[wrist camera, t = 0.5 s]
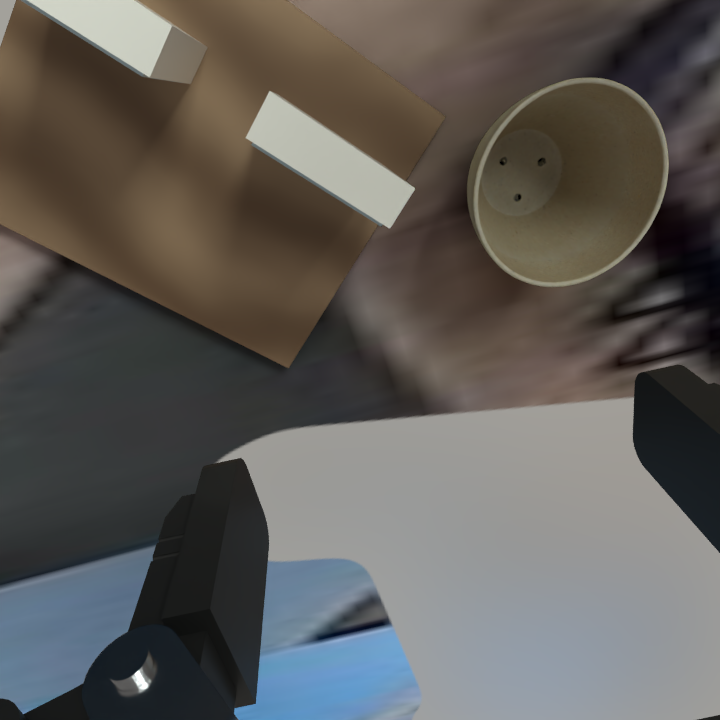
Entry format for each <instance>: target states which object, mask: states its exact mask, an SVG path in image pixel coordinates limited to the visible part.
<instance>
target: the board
mask: <svg viewBox="0 0 720 720" xmlns="http://www.w3.org/2000/svg"><path fill="white" fill-rule="evenodd" d="M138 1H139V2H141V3H142V4H144V5H145V6H147V7H148V8H150V9H151V10H153V11H154V12H156V13H157V14H159V15H160V16H162V17H163V18H165V19H166V20H168V21H169V22H171V23H172V24H174V25H175V26H177V27H178V28H180V29H181V30H183V31H184V32H186V33H187V34H189V35H190V36H192V37H193V38H195V39H196V40H197V41H199V42H200V43H202V44H203V45H205V46H206V47H208V48H207V50H206V52H205V54H204V57H203V59H202V61H201V63H200V65H199V67H198V70H197V72H196V74H195V76H194V78H193V80H192V83H191V84H187V83H178V82H172V81H166V80H159V79H153V78H147V77H142V76H140V75H139V74H137V73H135V72H134V71H132V70H131V69H129V68H128V67H126V66H124V65H123V64H121V63H120V62H118V61H116V60H115V59H113V58H112V57H110V56H108V55H107V54H105V53H104V52H102V51H100V50H99V49H97V48H96V47H94V46H92V45H91V44H89V43H88V42H86V41H84V40H83V39H81V38H80V37H78V36H77V35H75V34H73V33H72V32H70V31H69V30H67V29H65V28H64V27H62V26H61V25H59V24H57V23H56V22H54V21H53V20H51V19H49V18H48V17H46V16H45V15H43V14H41V13H40V12H38V11H37V10H35V9H34V8H32V7H30V6H29V5H27V4H26V3H24V2H22V1H21V0H16V3H15V6H14V8H13V11H12V14H11V17H10V20H9V23H8V26H7V29H6V32H5V35H4V38H3V41H2V44H1V46H0V224H1V225H3V226H5V227H7V228H9V229H11V230H13V231H15V232H17V233H19V234H21V235H23V236H25V237H27V238H29V239H31V240H33V241H35V242H37V243H39V244H41V245H43V246H45V247H47V248H49V249H51V250H53V251H55V252H57V253H59V254H61V255H63V256H65V257H67V258H69V259H71V260H73V261H75V262H77V263H79V264H81V265H83V266H85V267H87V268H89V269H91V270H93V271H95V272H97V273H99V274H101V275H103V276H105V277H107V278H109V279H111V280H113V281H115V282H117V283H119V284H121V285H123V286H125V287H127V288H129V289H131V290H133V291H135V292H137V293H139V294H141V295H143V296H145V297H147V298H149V299H151V300H153V301H155V302H157V303H159V304H161V305H163V306H165V307H167V308H169V309H171V310H173V311H175V312H177V313H179V314H181V315H183V316H185V317H187V318H189V319H191V320H193V321H195V322H197V323H199V324H201V325H203V326H205V327H207V328H209V329H211V330H213V331H215V332H217V333H219V334H221V335H223V336H225V337H227V338H229V339H231V340H233V341H235V342H237V343H239V344H241V345H243V346H245V347H247V348H249V349H251V350H253V351H255V352H257V353H259V354H261V355H263V356H265V357H267V358H269V359H271V360H273V361H275V362H277V363H279V364H281V365H283V366H285V367H287V368H289V367H290V365H291V363H292V362H293V360H294V359H295V357H296V355H297V354H298V352H299V351H300V349H301V347H302V346H303V344H304V343H305V341H306V339H307V338H308V336H309V335H310V333H311V331H312V330H313V328H314V327H315V325H316V323H317V322H318V320H319V319H320V317H321V315H322V314H323V312H324V311H325V309H326V307H327V306H328V304H329V303H330V301H331V299H332V298H333V296H334V295H335V293H336V291H337V290H338V288H339V287H340V285H341V283H342V282H343V280H344V279H345V277H346V276H347V274H348V272H349V271H350V269H351V268H352V266H353V264H354V263H355V261H356V260H357V258H358V256H359V255H360V253H361V252H362V250H363V248H364V247H365V245H366V244H367V242H368V240H369V239H370V237H371V236H372V234H373V232H374V231H375V229H376V228H377V226H378V224H376V223H374V222H373V221H371V220H370V219H368V218H367V217H365V216H363V215H362V214H360V213H359V212H357V211H355V210H354V209H352V208H351V207H349V206H347V205H346V204H344V203H343V202H341V201H339V200H338V199H336V198H335V197H333V196H331V195H330V194H328V193H327V192H325V191H324V190H322V189H320V188H319V187H317V186H316V185H314V184H312V183H311V182H309V181H308V180H306V179H304V178H303V177H301V176H300V175H298V174H296V173H295V172H293V171H292V170H290V169H288V168H287V167H285V166H284V165H282V164H280V163H279V162H277V161H276V160H274V159H273V158H271V157H269V156H268V155H266V154H265V153H263V152H261V151H260V150H258V149H257V148H255V147H253V146H252V145H251V144H252V142H251V141H250V140H248V139H246V136H247V134H248V132H249V130H250V128H251V126H252V124H253V122H254V120H255V118H256V117H257V115H258V113H259V111H260V109H261V107H262V105H263V103H264V101H265V99H266V97H267V95H268V93H269V91H271V92H274V93H276V94H278V95H280V96H281V97H283V98H284V99H286V100H287V101H288V102H290V103H291V104H293V105H294V106H296V107H297V108H299V109H300V110H302V111H303V112H305V113H306V114H308V115H309V116H311V117H312V118H314V119H315V120H317V121H318V122H320V123H321V124H323V125H324V126H326V127H327V128H329V129H330V130H332V131H333V132H335V133H336V134H338V135H339V136H341V137H342V138H344V139H345V140H347V141H348V142H350V143H351V144H353V145H354V146H356V147H357V148H359V149H360V150H362V151H363V152H365V153H366V154H368V155H369V156H371V157H372V158H374V159H375V160H377V161H378V162H379V163H381V164H382V165H384V166H385V167H387V168H388V169H390V170H391V171H392V172H394V173H395V174H396V175H398V176H399V177H400V178H402V179H403V180H405V181H406V180H407V178H408V177H409V175H410V173H411V172H412V170H413V169H414V167H415V165H416V164H417V162H418V161H419V159H420V157H421V156H422V154H423V153H424V151H425V149H426V148H427V146H428V145H429V143H430V141H431V140H432V138H433V137H434V135H435V133H436V132H437V130H438V129H439V127H440V125H441V124H442V122H443V121H444V119H445V116H444V115H443V114H441V113H440V112H439V111H437V110H436V109H434V108H433V107H432V106H430V105H429V104H428V103H426V102H425V101H424V100H422V99H421V98H419V97H418V96H417V95H415V94H414V93H413V92H411V91H410V90H409V89H407V88H406V87H404V86H403V85H402V84H400V83H399V82H398V81H396V80H395V79H394V78H392V77H391V76H389V75H388V74H387V73H385V72H384V71H383V70H381V69H380V68H379V67H377V66H376V65H374V64H373V63H372V62H370V61H369V60H368V59H366V58H365V57H364V56H362V55H361V54H359V53H358V52H357V51H355V50H354V49H353V48H351V47H350V46H349V45H347V44H346V43H345V42H343V41H342V40H340V39H339V38H338V37H336V36H335V35H334V34H332V33H331V32H330V31H328V30H327V29H325V28H324V27H323V26H321V25H320V24H319V23H317V22H316V21H315V20H313V19H312V18H310V17H309V16H308V15H306V14H305V13H304V12H302V11H301V10H300V9H298V8H297V7H295V6H294V5H293V4H291V3H290V2H289V1H287V0H138Z"/></svg>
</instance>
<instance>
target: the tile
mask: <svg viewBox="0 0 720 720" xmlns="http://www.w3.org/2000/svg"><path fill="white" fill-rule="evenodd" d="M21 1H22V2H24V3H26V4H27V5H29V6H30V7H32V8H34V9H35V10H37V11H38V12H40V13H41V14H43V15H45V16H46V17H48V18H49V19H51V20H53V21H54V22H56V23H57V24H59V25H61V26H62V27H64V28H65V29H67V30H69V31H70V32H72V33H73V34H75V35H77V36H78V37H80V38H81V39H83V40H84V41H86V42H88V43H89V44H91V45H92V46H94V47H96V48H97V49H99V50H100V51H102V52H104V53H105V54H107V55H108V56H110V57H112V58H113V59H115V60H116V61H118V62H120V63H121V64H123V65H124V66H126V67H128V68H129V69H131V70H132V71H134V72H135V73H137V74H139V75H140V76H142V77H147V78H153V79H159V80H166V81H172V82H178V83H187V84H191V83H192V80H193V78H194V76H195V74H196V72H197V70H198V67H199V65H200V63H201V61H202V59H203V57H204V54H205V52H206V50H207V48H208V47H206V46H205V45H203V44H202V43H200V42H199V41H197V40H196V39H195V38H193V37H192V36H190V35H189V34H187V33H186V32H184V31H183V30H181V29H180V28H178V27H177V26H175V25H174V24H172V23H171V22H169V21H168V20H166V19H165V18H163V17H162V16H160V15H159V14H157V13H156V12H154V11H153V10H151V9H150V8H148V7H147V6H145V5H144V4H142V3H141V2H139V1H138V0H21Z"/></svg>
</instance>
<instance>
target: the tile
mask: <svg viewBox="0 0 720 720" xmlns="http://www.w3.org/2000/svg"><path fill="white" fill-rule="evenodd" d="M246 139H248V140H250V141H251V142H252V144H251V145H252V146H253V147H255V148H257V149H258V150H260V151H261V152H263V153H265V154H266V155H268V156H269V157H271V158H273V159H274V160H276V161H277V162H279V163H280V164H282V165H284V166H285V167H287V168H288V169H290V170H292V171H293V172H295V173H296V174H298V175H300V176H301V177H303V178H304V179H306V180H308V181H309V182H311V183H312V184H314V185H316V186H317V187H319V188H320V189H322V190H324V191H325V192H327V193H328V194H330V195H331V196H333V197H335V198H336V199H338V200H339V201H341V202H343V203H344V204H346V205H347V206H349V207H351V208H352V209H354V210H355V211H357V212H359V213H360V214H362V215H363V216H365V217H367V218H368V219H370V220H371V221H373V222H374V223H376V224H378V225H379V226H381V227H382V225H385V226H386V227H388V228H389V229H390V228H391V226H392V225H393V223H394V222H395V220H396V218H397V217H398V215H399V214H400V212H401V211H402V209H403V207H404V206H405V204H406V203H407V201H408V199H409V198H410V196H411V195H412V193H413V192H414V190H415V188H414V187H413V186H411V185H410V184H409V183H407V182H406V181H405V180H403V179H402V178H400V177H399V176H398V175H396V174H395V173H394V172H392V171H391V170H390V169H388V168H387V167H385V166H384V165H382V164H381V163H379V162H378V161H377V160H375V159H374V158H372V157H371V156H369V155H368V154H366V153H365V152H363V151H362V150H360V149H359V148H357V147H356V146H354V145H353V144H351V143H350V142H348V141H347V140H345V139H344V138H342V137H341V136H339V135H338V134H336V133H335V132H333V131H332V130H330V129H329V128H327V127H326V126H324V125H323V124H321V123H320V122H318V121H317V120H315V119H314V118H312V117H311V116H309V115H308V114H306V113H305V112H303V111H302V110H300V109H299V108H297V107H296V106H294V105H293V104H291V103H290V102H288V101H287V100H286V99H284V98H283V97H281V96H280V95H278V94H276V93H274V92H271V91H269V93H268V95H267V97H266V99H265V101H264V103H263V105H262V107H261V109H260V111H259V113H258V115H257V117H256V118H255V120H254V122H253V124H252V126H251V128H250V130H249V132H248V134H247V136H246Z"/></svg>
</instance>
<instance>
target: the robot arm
mask: <svg viewBox="0 0 720 720" xmlns="http://www.w3.org/2000/svg"><path fill="white" fill-rule="evenodd" d="M633 442H634V447H635V450H636V453H637V455H638V458H639V460H640V461H641V463H642V465H643V466H644V467H645V469H646V470H647V471H648V472H649V473H650V474H651V475H652V477H653V478H654V479H655V480H656V481H657V482H658V483H659V484H660V486H661V487H662V488H663V489H664V490H665V491H666V492H667V494H668V495H669V496H670V497H671V498H672V499H673V500H674V502H675V503H676V504H677V505H678V506H679V507H680V508H681V509H682V511H683V512H684V513H685V514H686V515H687V516H688V517H689V518H690V520H691V521H692V522H693V523H694V524H695V525H696V526H697V528H698V529H699V530H700V531H701V532H702V533H703V534H704V535H705V537H706V538H707V539H708V540H709V541H710V542H711V543H712V545H713V546H714V547H715V548H716V549H717V550H718V551H719V553H720V385H718V384H716V383H712V384H707V383H706V382H705V381H703V380H702V379H701V378H699V377H698V376H697V375H695V374H694V373H693V372H691V371H690V370H689V369H687V368H686V367H684V366H682V365H674V366H669V367H665V368H660V369H656V370H651V371H646V372H642V373H639V374H638V375H637V377H636V380H635V392H634V419H633ZM268 550H269V535H268V527H267V522H266V518H265V515H264V512H263V509H262V506H261V504H260V501H259V498H258V496H257V493H256V490H255V487H254V485H253V483H252V480H251V477H250V474H249V471H248V469H247V466H246V464H245V462H244V460H243V459H241V458H239V459H234V460H229V461H225V462H220V463H216V464H211V465H206V466H204V467H203V469H202V472H201V475H200V479H199V483H198V486H197V490H196V494H191V495H187V496H182V497H181V498H180V500H179V501H178V502H177V503H176V505H175V506H174V507H173V508H172V510H171V511H170V512H169V513H168V515H167V516H166V517H165V520H164V523H163V527H162V530H161V533H160V536H159V543H157V545H156V548H155V551H154V554H153V561H151V563H150V566H149V569H148V572H147V575H146V578H145V581H144V584H143V587H142V591H141V594H140V597H139V600H138V603H137V606H136V609H135V612H134V615H133V618H132V621H131V624H130V627H129V630H128V632H127V633H125V634H123V635H121V636H120V637H118V638H117V639H115V640H114V641H113V642H112V643H110V644H109V645H108V646H107V647H106V648H105V649H104V650H103V651H102V652H101V653H100V654H99V656H98V657H97V658H96V659H95V661H94V662H93V664H92V665H91V667H90V668H89V670H88V672H87V674H86V677H85V680H84V683H83V684H81V685H80V686H78V687H76V688H74V689H73V690H71V691H69V692H67V693H65V694H63V695H61V696H59V697H57V698H55V699H53V700H51V701H49V702H47V703H45V704H43V705H41V706H39V707H37V708H35V709H33V710H31V711H29V712H27V713H25V714H22V712H21V711H20V710H19V709H18V707H17V706H16V705H15V704H14V703H13V702H11V701H10V700H6V699H0V720H238V719H237V717H236V716H235V715H234V708H237V707H242V706H247V705H252V704H256V694H257V682H258V670H259V658H260V646H261V634H262V622H263V610H264V598H265V586H266V574H267V562H268ZM699 720H720V715H718V716H713V717H708V718H703V719H699Z"/></svg>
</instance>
